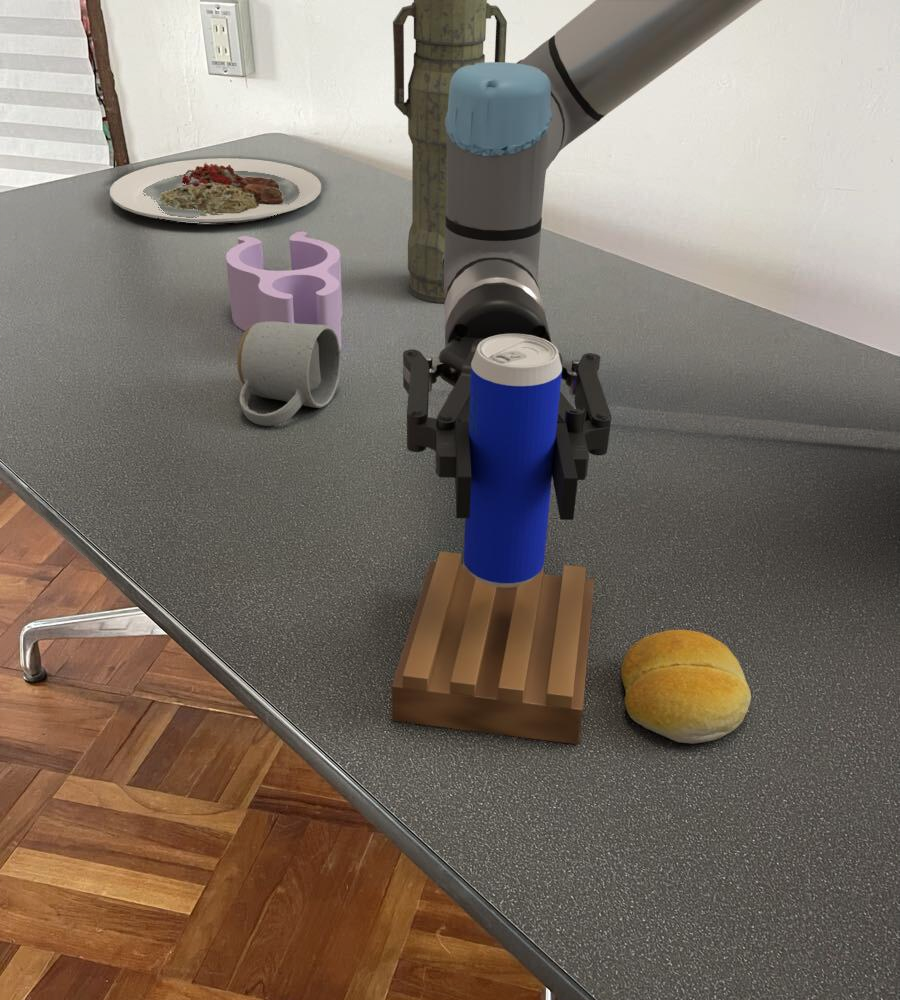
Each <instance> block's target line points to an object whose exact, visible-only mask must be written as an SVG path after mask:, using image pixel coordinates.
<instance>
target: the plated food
mask: <svg viewBox="0 0 900 1000" xmlns="http://www.w3.org/2000/svg"><path fill="white" fill-rule="evenodd" d="M234 171H248V172H257V173H258V172H259V173H265V174H270V175H275V176H278V177H281V178H285V179H287V180H289V181H291V182H293V183H294V184H295V185H297V187H298V189H299V192H300V193H299V196H298V198H297V199H296V200H295V201H294V202H292V203H290V204H289V205H288V204H287V205H286V204H285V203H282V202H283V201H284V199H283V197H282V194H283V193H281V191H280V189H278V188H279V187H280V186H279V184H278V183H277V182H276V181H275V180H274V179H270V178H263V177H250V176H249V177H244V178H243V177H241V176H239V175H238V174H235V172H234ZM189 173H191V174H190V176H188V175H187V174H189ZM179 175H183V177H182V183H184V184H185V183H186V185H182V187H178V188H174V189H172V190H169V191H165V192H162V193H161V195H160V200H159V201H161V202H162V203H161V205H162V206H168V205H170V206H172V207H173V208H174V209H176V208H177V209H180V208H182V210H187V209H193V208H194V209H196V210H197V209H198V210H201V211H202V213H201V214H199V217H197V216H196V217H197V218H195V217H194V218H186V217H178V216H170V215H167V214H165V212H164V211H163V210H162V209H161V208H160V206H159V205H158V203H157V202H156V200H153V199H151V197H150V196H147V195H146V193H144V192H143V190H144V189H145V188H146V187H148V186H150V185H152V184H154V183H156V182H158V181H161V180H163V179H167V178H171V177H174V176H179ZM186 175H187V176H186ZM321 191H322V183H321V181H320V180H319V178H318V177H317V176H315V174H313V173H312V172H310V171H308V170H305V169H303V168H300V167H297V166H294V165H291V164H287V163H282V162H277V161H270V160H262V159H251V158H237V157H236V158H235V157H234V158H233V157H231V158H228V157H227V158H225V157H222V158H221V157H219V158H198V159H188V160H179V161H172V162H171V161H170V162H165V163H160V164H157V165H152V166H147V167H144V168H141V169H138V170H135V171H132V172H130V173H127V174H125V175H123V176H121V177H119V178H118V179H117V180H116V181H114V182H113V183H112V185H111V187H110V188H109V197H110V199H111V200H112V202H113V203H114V204H115V205H117V206H118V207H120V208H121V209H122V210H125V211H128V212H130V213H133V214H135V215H140V216H144V217H148V218H153V219H158V218H159V219H158V220H162V219H166V220H165V221H167V220H174V221H188V222H199V223H234V224H241V222H242V223H249V221H250V222H255V221H261V220H265V219H269V218H272V217H275V216H278V215H280V214H284V213H288V212H291V211H294V210H297V209H299V208H301V207H304V206H307V205H309V204H310V203H311V202H313V201H314V200H316V199H317V197H318V196H319V195H320V194H321V193H322V192H321ZM143 193H144V194H145V195H146V196H144V194H143ZM152 198H153V197H152ZM154 201H155V202H154ZM284 202H285V201H284ZM158 207H159V208H158ZM159 209H160V210H159ZM161 210H162V211H161ZM162 212H164V213H162ZM205 213H207V214H205ZM208 213H209V214H208ZM277 214H278V215H277ZM200 215H201V216H200ZM274 215H275V216H274ZM271 216H272V217H271Z"/></svg>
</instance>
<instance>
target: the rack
mask: <svg viewBox="0 0 900 1000" xmlns="http://www.w3.org/2000/svg"><path fill="white" fill-rule="evenodd" d="M462 555H463V554H462V553H460V552H451V551H443V550H440V551H439V553H438V556H437V560H436V561H430V562H429V565H428V567H427V571H426V575H425V578H424V581H423V584H422V588H421V591H420V593H419V597H418V600H417V602H416V603H417V604H416V605H415V610H414V613H413V616H412V620H411V623H410V627H409V628H408V632H407V635H406V640H405V642H404V645H403V649H402V652H401V655H400V659H399V661H398V665H397V667H396V668H397V669H396V672H395V674H394V679H393V682H392V684H391V716H392V717H391V718H392V719H391V720H392V722H399V723H400V722H401V723H408V724H414V725H423V726H431V727H438V728H447V729H453V730H461V731H469V732H475V733H476V732H477V733H486V734H493V735H500V736H509V737H516V738H524V739H530V740H531V739H533V740H541V741H548V742H556V743H563V744H571V745H578V744H579V743H580V742H579V741H580V735H581V734H580V733H581V726H582V718H583V710H584V699H585V690H586V678H587V667H588V666H587V665H588V657H589V656H588V655H589V646H590V636H591V635H590V634H591V624H592V623H591V622H592V614H593V613H592V611H593V602H594V600H593V599H594V590H595V579H591V578H586V574H587V573H586V572H587V567H586V566H580V565H570V564H563V568H562V575H555V574H548V573H547V574H546V573H544V571H545V564H544V565H543V568H542V570H541V571H540V572H539V574H538V575H537V576H535V577H534V578H533V579H532V580H531V581H529V582H528V583H526V584H523V585H520V586H517V587H509V588H502V587H495V586H490V585H487V584H485V583H483V582H481V581H479V580H478V579H476V578H475V577H474V576H473V575H472V574H471V573H470V571H469V570H468V569H467V567H466V566H465V564H462V557H463V556H462Z"/></svg>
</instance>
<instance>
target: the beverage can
mask: <svg viewBox="0 0 900 1000" xmlns="http://www.w3.org/2000/svg"><path fill="white" fill-rule="evenodd" d="M558 352H559V349H558V348H557V347H556V346H555V344H553V343H552V341H551V342H549V341H547V340H545V339H542V338H539V337H536V336H531V335H525V334H500V335H495V336H491V337H488V338H486V339H484V340H482V341H481V342H480V343H479V344H478V346H477V349H476V352H475V355H474V357H473V360H472V363H471V381H470V407H469V443H470V460H471V500H470V518H464V538H463V539H464V541H463V563H464V565H465V566H466V567H467V569H468V570H469V571H470V573H471V574H472V575H473V576H474V577H475V578H476V579H478V580H479V581H481V582H483V583H485V584H487V585H490V586H495V587H502V588H509V587H517V586H520V585H523V584H526V583H528V582H529V581H531V580H532V579H533V578H534V577H535V576H537V575H538V574H539V572H540V571H541V570H542V568H543V565H544V566H545V555H546V547H547V534H548V523H549V514H550V513H549V512H550V502H551V501H550V500H551V491H552V483H553V482H552V481H553V477H552V471H553V460H554V450H555V439H556V429H557V418H558V407H559V397H560V392H561V385H562V379H561V375H562V365H561V361H560V357H559V353H560V352H559V353H558Z"/></svg>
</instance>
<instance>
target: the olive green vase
mask: <svg viewBox="0 0 900 1000" xmlns="http://www.w3.org/2000/svg"><path fill="white" fill-rule="evenodd" d="M408 17H412V18H413V39H414V40H415V51H414V53H413V66H412V70H411V73H410V77H409V79H408V84H407V99H406V100H405V23H406V21H407V19H408ZM492 17H494V19H495V42H494V43H495V44H494V45H495V46H494V62H505V63H506V54H507V53H506V52H507V50H506V49H507V31H508V30H507V29H508V21H507V19H506V17H505V16H504V14H503V13H502V11H501V9H500V8H499V7H498V6H497V5H494V4H493V5H491V4H490V3H489V2H488V0H413V2H412V3H411V4H410V5H407V6H403V7H401V9H400V10H399V12H398V13H397V15H396V16H395V18H394V19H393V21H392V37H393V39H392V40H393V66H394V67H393V70H394V71H393V75H394V77H393V78H394V79H393V81H394V82H393V83H394V84H393V86H394V87H393V88H394V90H393V91H394V92H393V93H394V99H393V100H394V101H393V102H394V103H393V104H394V105H395V107H396V108H397V109H398V110H399V112H401V114H403V116H406V117H407V135H408V137H409V139H410V143H411V147H412V150H411V151H412V158H411V159H412V165H411V166H412V170H411V171H412V172H411V173H412V174H411V175H412V177H411V179H412V180H411V181H412V182H411V183H412V187H411V189H412V191H411V192H412V195H411V196H412V197H411V198H412V199H411V201H412V203H411V205H412V206H411V207H412V213H411V214H412V217H411V218H412V222H411V225H410V228H409V231H408V240H407V270H408V272H409V285H408V290H410V291H409V293H410V294H411V293H412V294H413V295H415V296H416V297H418V298H421V299H423V300H422V301H424V300H426V301H425V302H428V301H430V302H429V303H433V302H437V303H436V304H445V293H444V287H443V284H442V271H443V269H442V266H443V264H442V260H443V255H444V243H445V222H446V164H447V132H446V126H445V117H446V113H447V112H448V101H449V89H450V81H451V78H452V76H453V75H454V73H455V72H456V71H457V70H459V69H460V68H462V67H464V66H468V65H474V64H476V63H486V60H485V59H486V56H485V55H486V54H484V42H486V34H487V33H486V32H487V19H491V20H492ZM412 294H411V295H412ZM413 295H412V296H413ZM415 296H414V297H415ZM416 297H415V298H416ZM418 298H417V299H418ZM421 299H420V300H421Z"/></svg>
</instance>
